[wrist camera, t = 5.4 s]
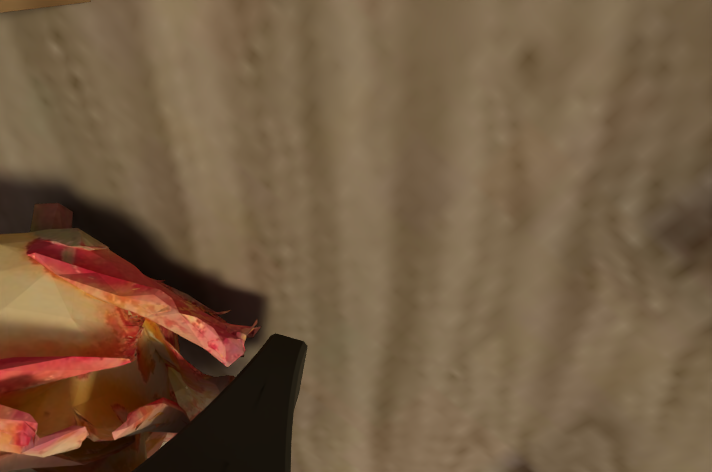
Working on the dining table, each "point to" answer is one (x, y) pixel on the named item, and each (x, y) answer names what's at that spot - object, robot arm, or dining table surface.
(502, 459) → the dining table surface
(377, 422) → the dining table surface
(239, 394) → the robot arm
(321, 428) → the dining table surface
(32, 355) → the flower
